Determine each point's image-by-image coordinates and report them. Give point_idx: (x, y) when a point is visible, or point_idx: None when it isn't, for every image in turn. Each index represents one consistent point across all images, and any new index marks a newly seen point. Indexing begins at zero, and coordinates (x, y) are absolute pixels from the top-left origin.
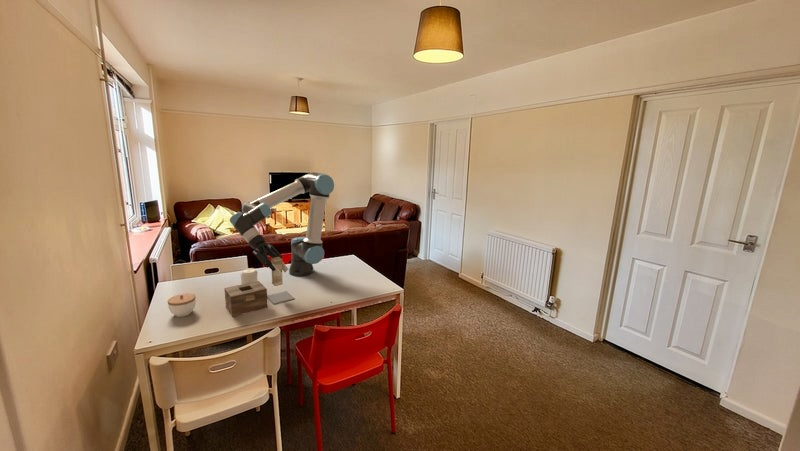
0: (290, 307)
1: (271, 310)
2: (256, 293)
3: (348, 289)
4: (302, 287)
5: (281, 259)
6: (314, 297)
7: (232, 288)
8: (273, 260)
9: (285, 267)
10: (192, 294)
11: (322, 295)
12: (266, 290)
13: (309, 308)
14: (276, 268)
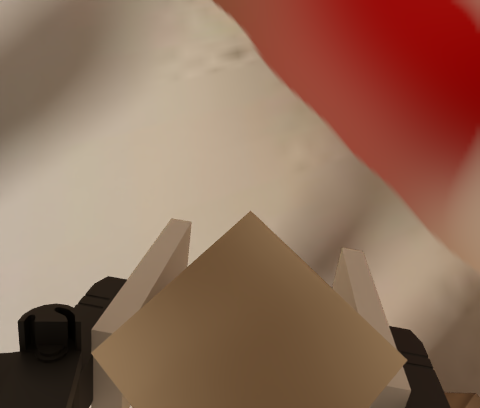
0: (349, 237)
1: (423, 342)
2: None
3: (62, 11)
4: (20, 271)
5: (258, 223)
6: (186, 146)
7: None
8: (372, 394)
9: (180, 250)
10: None
11: (153, 113)
12: (469, 395)
13: (333, 132)
14: (380, 308)
